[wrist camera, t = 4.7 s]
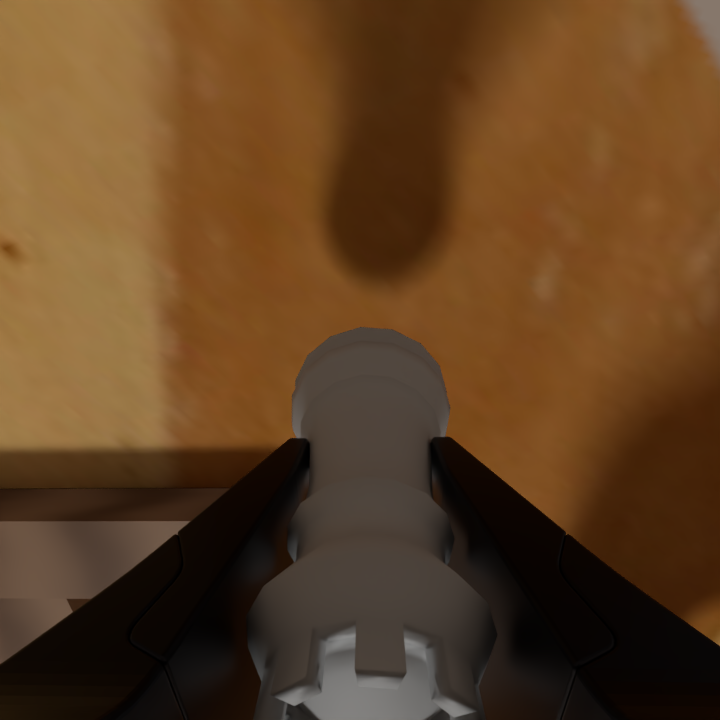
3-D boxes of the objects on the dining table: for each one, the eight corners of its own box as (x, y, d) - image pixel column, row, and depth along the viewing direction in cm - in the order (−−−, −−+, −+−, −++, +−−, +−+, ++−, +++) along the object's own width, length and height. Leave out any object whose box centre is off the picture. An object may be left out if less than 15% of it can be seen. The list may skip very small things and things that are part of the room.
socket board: (330, 487, 18) (325, 521, 16) (344, 684, 24) (342, 725, 22) (-76, 489, 18) (-126, 521, 16) (41, 680, 24) (14, 719, 23)
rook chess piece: (467, 416, 12) (635, 787, 4) (344, 471, 13) (306, 853, 5) (401, 293, 10) (486, 527, 3) (268, 365, 11) (66, 684, 4)
